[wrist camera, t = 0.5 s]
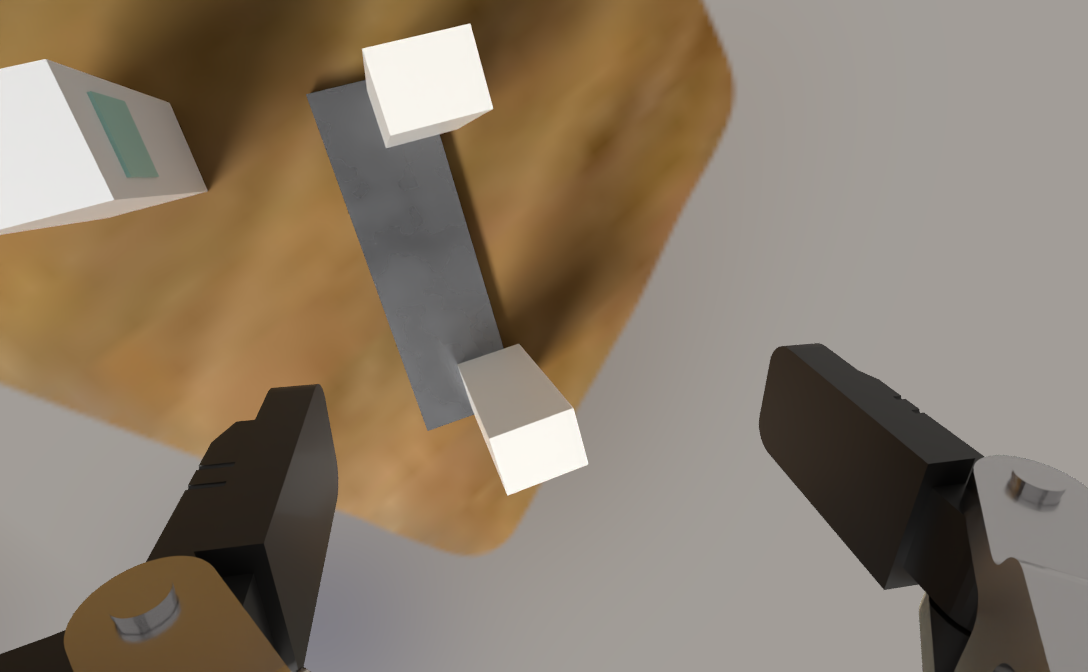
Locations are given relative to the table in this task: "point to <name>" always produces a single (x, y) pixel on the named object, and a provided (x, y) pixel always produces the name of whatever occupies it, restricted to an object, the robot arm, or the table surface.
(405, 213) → the rail
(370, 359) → the table surface
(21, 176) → the white tall block
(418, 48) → the mounted modules
